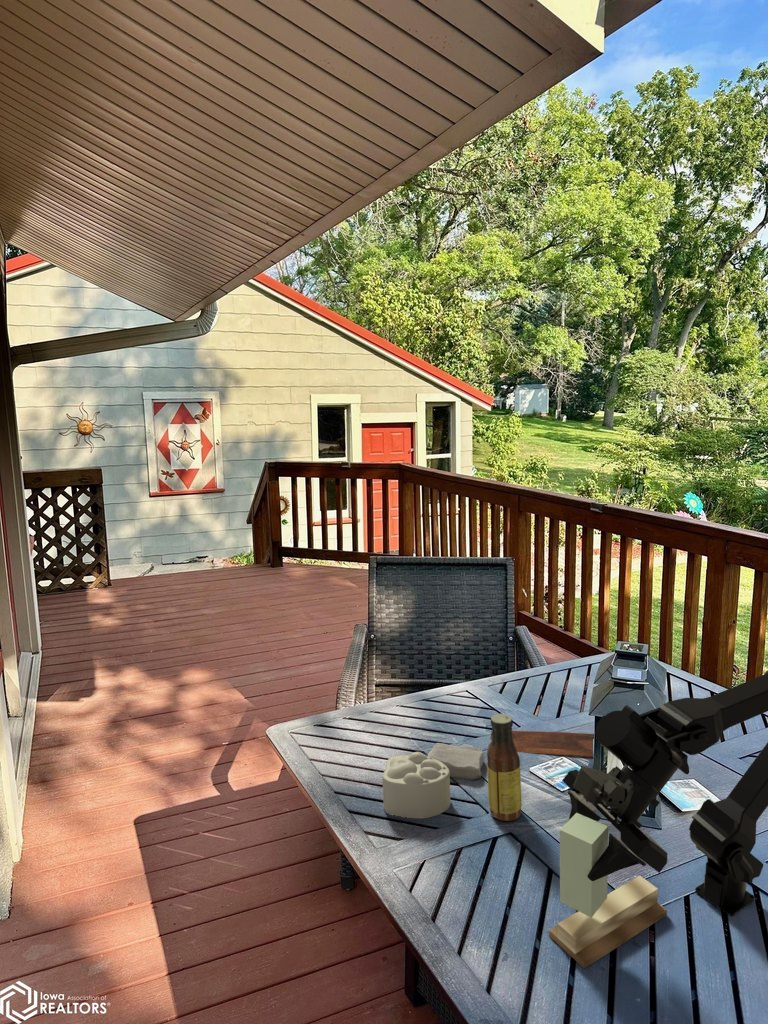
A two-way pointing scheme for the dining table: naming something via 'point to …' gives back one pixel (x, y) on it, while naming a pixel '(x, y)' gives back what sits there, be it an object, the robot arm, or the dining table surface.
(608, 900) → the birch ridge
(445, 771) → the lumpy-topped squat cylinder
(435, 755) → the stone block
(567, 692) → the dining table surface
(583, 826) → the sage post
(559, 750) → the wooden tablet
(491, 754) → the sauce bottle
